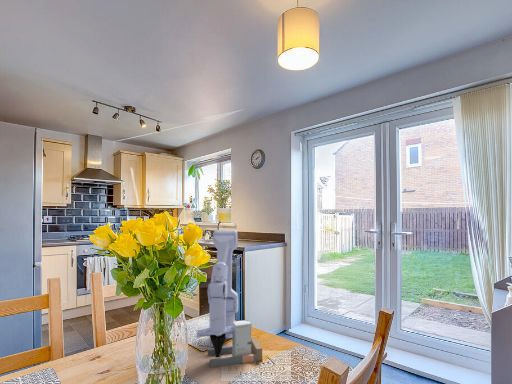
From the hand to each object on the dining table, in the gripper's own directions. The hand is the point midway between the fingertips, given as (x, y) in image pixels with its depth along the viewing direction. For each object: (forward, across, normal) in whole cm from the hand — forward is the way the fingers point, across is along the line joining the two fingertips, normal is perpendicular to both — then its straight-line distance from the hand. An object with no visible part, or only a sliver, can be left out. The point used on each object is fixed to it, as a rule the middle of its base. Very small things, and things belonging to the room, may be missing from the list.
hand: (217, 356), depth 105 cm
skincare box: (+1, +8, -1) cm, 9 cm away
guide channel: (+1, +6, 0) cm, 6 cm away
